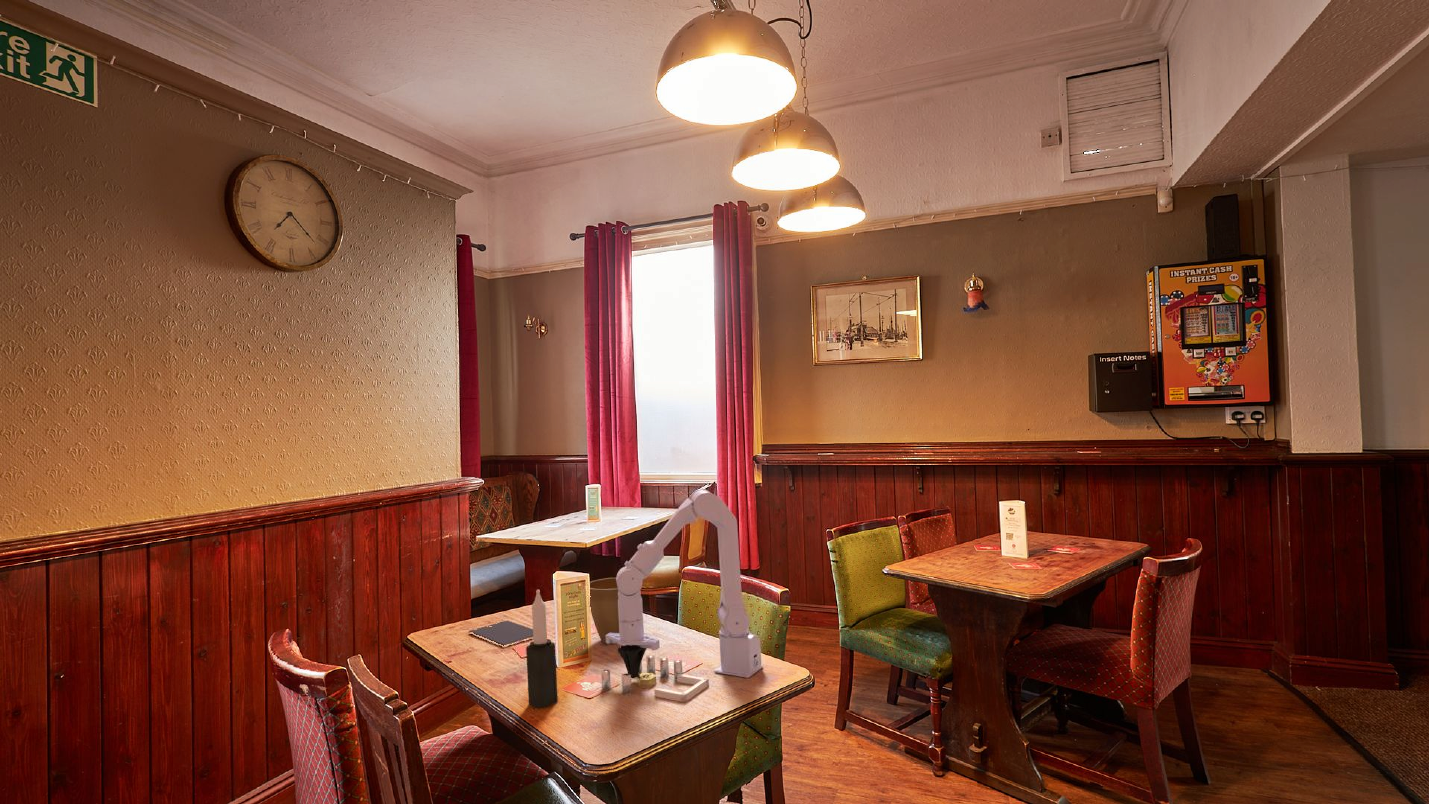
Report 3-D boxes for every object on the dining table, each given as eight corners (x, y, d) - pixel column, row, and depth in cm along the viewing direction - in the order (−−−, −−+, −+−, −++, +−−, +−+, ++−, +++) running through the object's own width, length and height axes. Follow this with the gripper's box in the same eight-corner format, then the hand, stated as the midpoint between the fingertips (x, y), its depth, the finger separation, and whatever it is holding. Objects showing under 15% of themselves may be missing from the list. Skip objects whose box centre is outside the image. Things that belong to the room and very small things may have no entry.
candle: (543, 709, 150) (537, 593, 151) (526, 705, 153) (521, 591, 153) (560, 700, 154) (554, 588, 155) (543, 696, 157) (538, 586, 158)
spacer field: (684, 677, 164) (683, 660, 164) (649, 699, 152) (648, 681, 152) (637, 668, 171) (636, 652, 172) (600, 689, 159) (599, 672, 160)
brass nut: (659, 682, 162) (658, 673, 162) (647, 689, 158) (647, 680, 158) (645, 680, 164) (645, 671, 164) (633, 687, 160) (633, 678, 160)
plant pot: (638, 647, 188) (635, 587, 188) (583, 649, 188) (580, 590, 188) (644, 630, 203) (641, 575, 203) (593, 632, 203) (591, 577, 203)
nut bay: (708, 685, 158) (708, 678, 158) (684, 702, 150) (684, 695, 150) (679, 680, 163) (679, 673, 163) (654, 696, 154) (654, 689, 154)
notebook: (468, 636, 208) (504, 650, 193) (468, 630, 208) (503, 644, 193) (507, 625, 217) (543, 638, 202) (507, 620, 217) (543, 632, 202)
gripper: (596, 620, 164) (599, 678, 164) (645, 627, 156) (648, 687, 156) (615, 612, 170) (618, 667, 170) (663, 618, 162) (666, 676, 162)
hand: (633, 676), depth 163 cm, fingers closed
